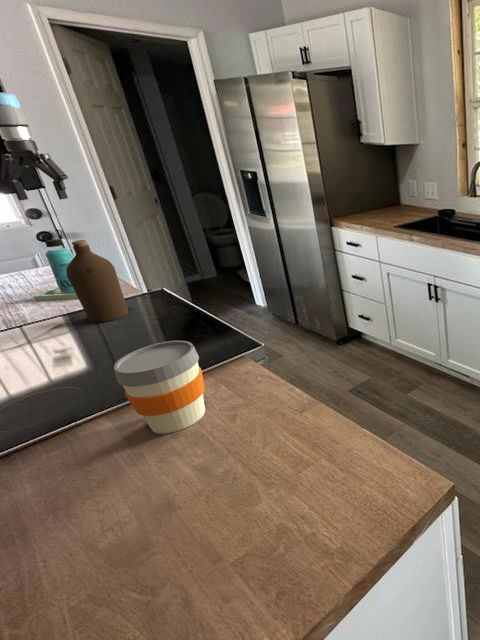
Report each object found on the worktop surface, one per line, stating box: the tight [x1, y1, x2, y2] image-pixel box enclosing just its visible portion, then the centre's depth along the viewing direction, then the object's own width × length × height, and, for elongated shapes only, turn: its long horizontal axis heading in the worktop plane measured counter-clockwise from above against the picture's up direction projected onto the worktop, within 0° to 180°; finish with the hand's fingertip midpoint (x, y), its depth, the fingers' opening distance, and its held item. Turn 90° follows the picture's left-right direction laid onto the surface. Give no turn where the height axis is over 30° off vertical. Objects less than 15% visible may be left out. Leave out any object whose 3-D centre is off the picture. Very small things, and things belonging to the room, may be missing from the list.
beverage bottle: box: [44, 238, 75, 293], centre depth 146 cm, size 6×7×20 cm
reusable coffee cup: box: [113, 340, 206, 435], centre depth 82 cm, size 13×13×15 cm
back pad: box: [33, 286, 79, 302], centre depth 150 cm, size 14×14×2 cm
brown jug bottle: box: [66, 239, 129, 324], centre depth 127 cm, size 11×11×25 cm
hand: (44, 199), depth 155 cm, fingers open, 13 cm apart
